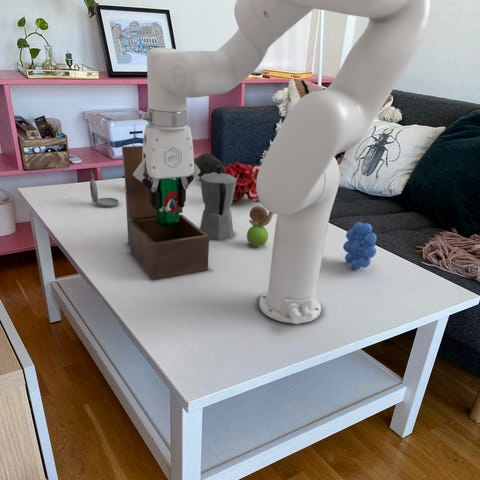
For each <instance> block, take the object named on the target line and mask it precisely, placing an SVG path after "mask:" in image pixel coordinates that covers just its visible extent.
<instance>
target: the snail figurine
mask: <svg viewBox="0 0 480 480" xmlns="http://www.w3.org/2000/svg"><path fill="white" fill-rule="evenodd" d="M273 216H274V213H271V212H269V211H267V209H265V208H264V206H260V205H255V206H253V207H252V208H251V209H250V211H249V218H250V219H249V220H248V222H249V223H250V225H251V226H250V228H249V229H248V230H247V232H246V239H247V242H248V243H249V244H250V245H252V246H254V247H262V246H264V245H265V244H266V242H267V241H268V240H269V232H268V230H267V228H266V227H265V226H267V225H268V224H270V222H271V221H272V218H273Z"/></svg>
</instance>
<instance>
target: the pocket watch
mask: <svg viewBox="0 0 480 480" xmlns="http://www.w3.org/2000/svg"><path fill="white" fill-rule="evenodd" d="M90 174H91V179H90V180H89V188H90V189H89V190H90V196H91V201H92V202H93V203H94V204H95V205H96V206H99V207H102V208H112V207H115V206H118V205H119V200H118V199H117V198H115V197H100V198H99V193H98V186H97V182H96V180H95V175H94V173H93V172H92V171H91V170H90Z"/></svg>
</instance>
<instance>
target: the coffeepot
mask: <svg viewBox="0 0 480 480" xmlns="http://www.w3.org/2000/svg"><path fill="white" fill-rule="evenodd" d="M222 168H223V167H221V166H216V170H217V173H215V172H212V173H211V174H204V175H203V176H202V177H199V179H200V187H201V196H202V203H203V204H204V209H203V211H202V216H201V220H200V226H199V228H200V229H201V230H202V231H203V232H205V233H206V234H207V235H208V236H209V240H211V241H212V240H213V241H225V240H229V239H230V238H232V236H233V234H234V226H233V225H234V224H233V216H232V211H231V205H232V204H233V202H232V201H233V196H234V191H235V186H236V181H237V178H235V177H233V176H231V175H228V174H223V173H221V172H222Z"/></svg>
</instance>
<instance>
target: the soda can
mask: <svg viewBox="0 0 480 480" xmlns="http://www.w3.org/2000/svg"><path fill="white" fill-rule="evenodd" d="M157 191H158V192H159V199H160V209H159V210H156V220H157V224H158V225H159V226H160V227H162V228H174V227H177V226H178V224H179V215H180V213H179V199H180V178H169V179H160V180H159V184H158V187H157Z"/></svg>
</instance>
